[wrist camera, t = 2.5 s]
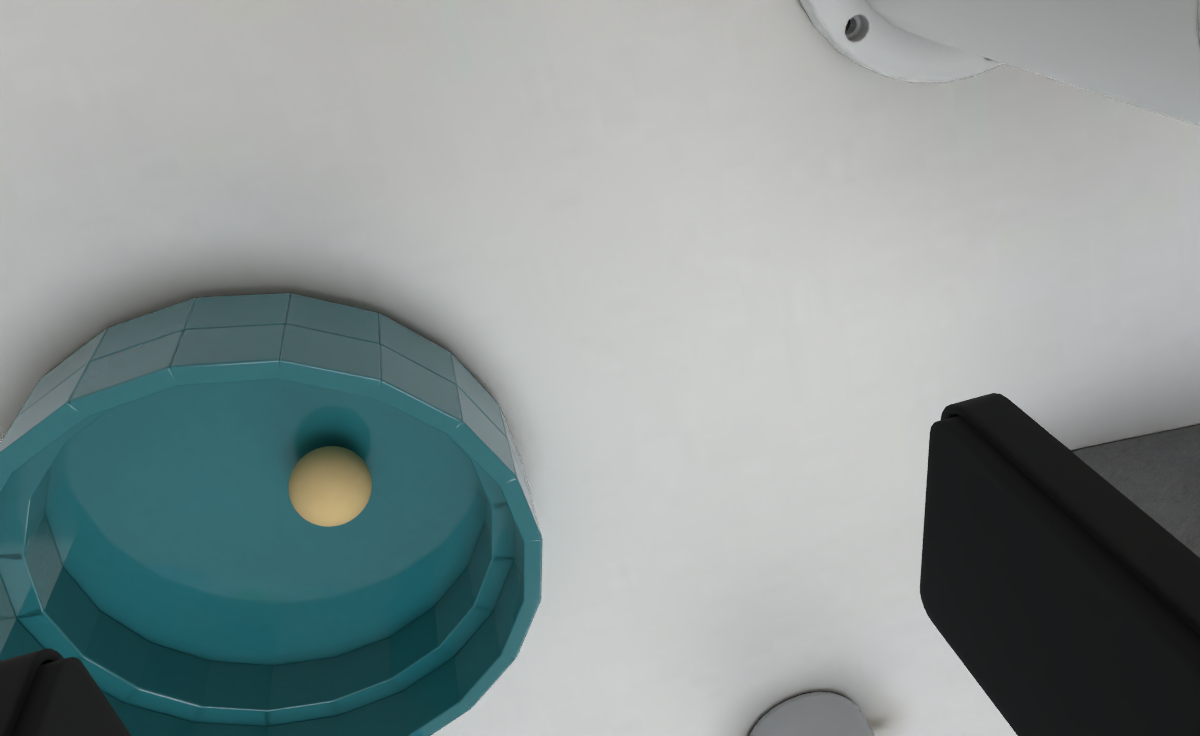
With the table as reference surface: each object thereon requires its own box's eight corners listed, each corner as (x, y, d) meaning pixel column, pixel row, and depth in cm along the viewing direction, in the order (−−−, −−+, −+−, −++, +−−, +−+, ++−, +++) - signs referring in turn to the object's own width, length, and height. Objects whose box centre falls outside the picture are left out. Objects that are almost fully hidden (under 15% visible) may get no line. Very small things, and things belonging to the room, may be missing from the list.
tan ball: (317, 418, 33) (313, 464, 31) (386, 451, 35) (388, 497, 32) (276, 475, 34) (269, 524, 32) (345, 504, 36) (344, 554, 33)
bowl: (157, 181, 29) (117, 244, 24) (610, 433, 38) (644, 514, 33) (-86, 589, 34) (-157, 705, 29) (364, 724, 43) (364, 830, 38)
